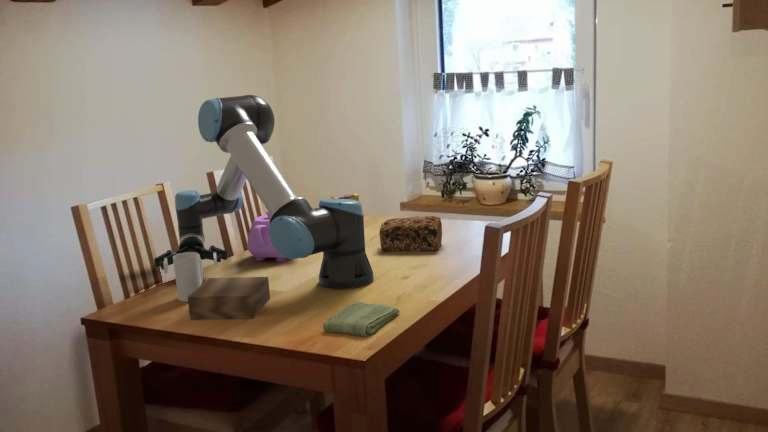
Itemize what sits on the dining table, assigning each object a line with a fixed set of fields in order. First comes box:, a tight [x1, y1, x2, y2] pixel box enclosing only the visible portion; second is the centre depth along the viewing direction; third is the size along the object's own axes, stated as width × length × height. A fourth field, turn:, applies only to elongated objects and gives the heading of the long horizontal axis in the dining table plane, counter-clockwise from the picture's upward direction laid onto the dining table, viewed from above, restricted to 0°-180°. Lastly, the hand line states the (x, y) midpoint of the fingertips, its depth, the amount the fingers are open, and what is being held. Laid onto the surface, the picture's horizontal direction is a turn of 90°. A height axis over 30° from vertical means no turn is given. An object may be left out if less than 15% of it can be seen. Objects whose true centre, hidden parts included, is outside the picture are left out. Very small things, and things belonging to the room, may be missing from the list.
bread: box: [379, 215, 443, 253], centre depth 254 cm, size 19×11×10 cm, turn 77°
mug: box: [173, 252, 204, 303], centre depth 216 cm, size 10×7×12 cm, turn 157°
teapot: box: [246, 210, 287, 263], centre depth 250 cm, size 20×20×15 cm
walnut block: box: [187, 276, 271, 321], centre depth 204 cm, size 16×16×6 cm
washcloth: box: [322, 301, 400, 337], centre depth 189 cm, size 13×18×3 cm
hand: (190, 265), depth 223 cm, fingers open, 13 cm apart
